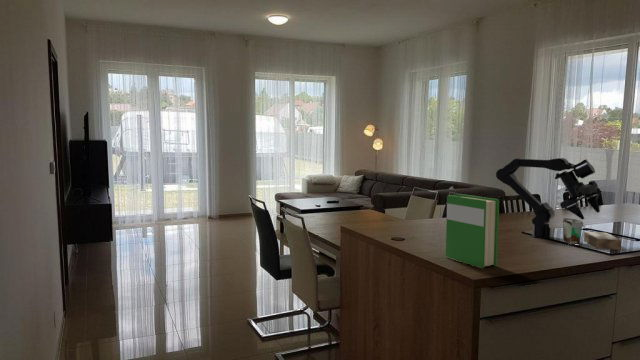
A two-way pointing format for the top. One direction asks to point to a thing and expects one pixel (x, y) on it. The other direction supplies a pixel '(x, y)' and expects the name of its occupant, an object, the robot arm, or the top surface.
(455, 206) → the hardback book
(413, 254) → the top surface
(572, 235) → the food container
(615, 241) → the base board
